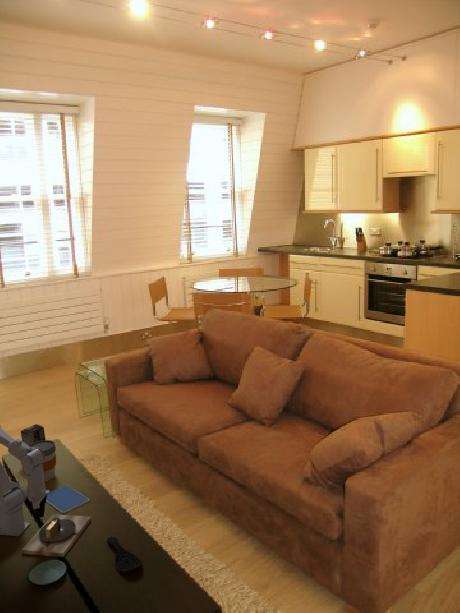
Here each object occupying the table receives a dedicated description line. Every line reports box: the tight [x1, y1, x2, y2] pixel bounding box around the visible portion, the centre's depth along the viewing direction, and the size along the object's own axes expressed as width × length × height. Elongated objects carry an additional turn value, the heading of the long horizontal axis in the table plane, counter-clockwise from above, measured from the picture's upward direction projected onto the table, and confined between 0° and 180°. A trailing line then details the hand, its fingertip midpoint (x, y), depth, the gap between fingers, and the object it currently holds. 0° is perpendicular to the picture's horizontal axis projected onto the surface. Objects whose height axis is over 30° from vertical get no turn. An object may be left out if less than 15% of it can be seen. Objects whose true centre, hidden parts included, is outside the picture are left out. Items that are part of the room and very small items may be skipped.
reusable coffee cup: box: [29, 439, 57, 482], centre depth 245 cm, size 13×12×15 cm
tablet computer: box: [46, 484, 90, 515], centre depth 227 cm, size 19×13×1 cm, turn 45°
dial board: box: [21, 513, 92, 558], centre depth 201 cm, size 16×22×2 cm
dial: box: [38, 518, 76, 543], centre depth 201 cm, size 13×13×5 cm
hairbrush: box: [106, 536, 143, 574], centre depth 188 cm, size 8×4×25 cm
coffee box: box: [20, 423, 47, 446], centre depth 263 cm, size 9×6×16 cm
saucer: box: [28, 559, 67, 586], centre depth 180 cm, size 12×12×2 cm
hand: (41, 516), depth 199 cm, fingers closed
